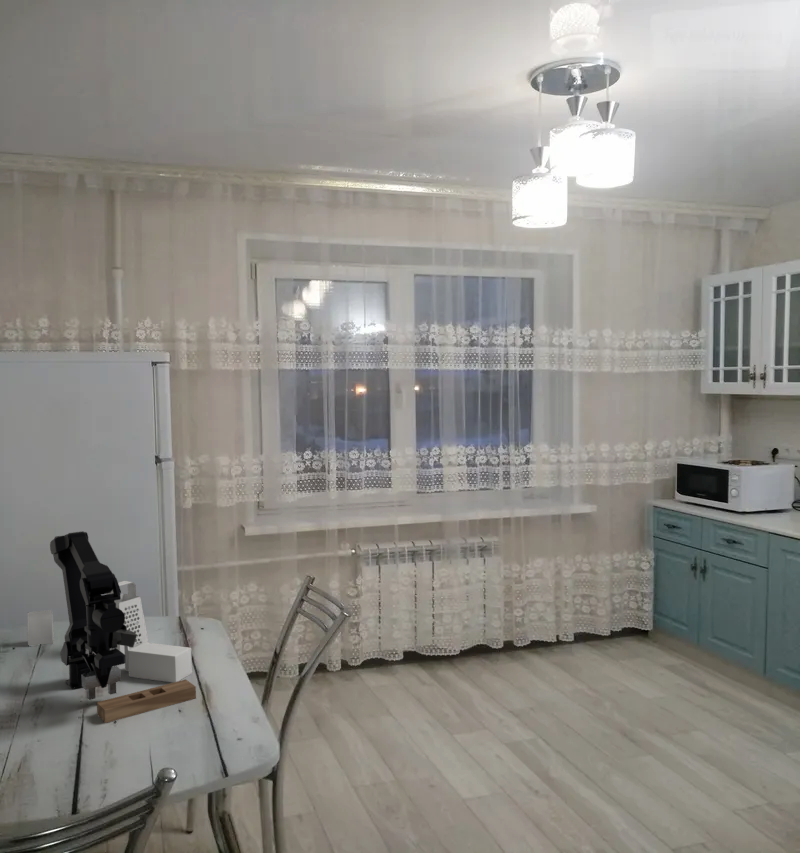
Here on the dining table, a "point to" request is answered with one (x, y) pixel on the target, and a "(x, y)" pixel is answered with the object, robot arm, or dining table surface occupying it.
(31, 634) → the pale grey block
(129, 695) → the rail
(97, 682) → the grey block
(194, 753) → the dining table surface
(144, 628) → the grater
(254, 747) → the dining table surface
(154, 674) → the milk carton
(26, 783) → the dining table surface
